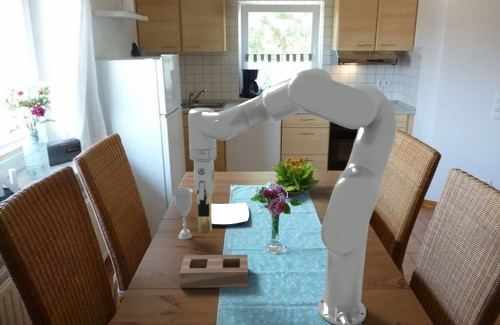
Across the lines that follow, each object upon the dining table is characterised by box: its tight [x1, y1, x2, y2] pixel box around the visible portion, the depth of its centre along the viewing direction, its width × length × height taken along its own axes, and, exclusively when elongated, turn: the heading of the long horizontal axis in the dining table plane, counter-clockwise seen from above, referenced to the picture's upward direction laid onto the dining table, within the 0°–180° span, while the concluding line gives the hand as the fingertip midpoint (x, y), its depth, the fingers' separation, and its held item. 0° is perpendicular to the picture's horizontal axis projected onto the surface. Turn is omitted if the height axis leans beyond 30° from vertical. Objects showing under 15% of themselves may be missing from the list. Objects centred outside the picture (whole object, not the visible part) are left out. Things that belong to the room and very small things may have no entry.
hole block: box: [179, 254, 249, 289], centre depth 122 cm, size 10×20×5 cm, turn 91°
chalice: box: [172, 187, 194, 240], centre depth 146 cm, size 7×7×18 cm
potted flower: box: [270, 156, 320, 195], centre depth 193 cm, size 25×24×18 cm
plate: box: [211, 202, 250, 227], centre depth 165 cm, size 20×20×3 cm
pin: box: [196, 192, 213, 234], centre depth 116 cm, size 4×4×12 cm
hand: (204, 212), depth 116 cm, fingers closed on pin, 4 cm apart
